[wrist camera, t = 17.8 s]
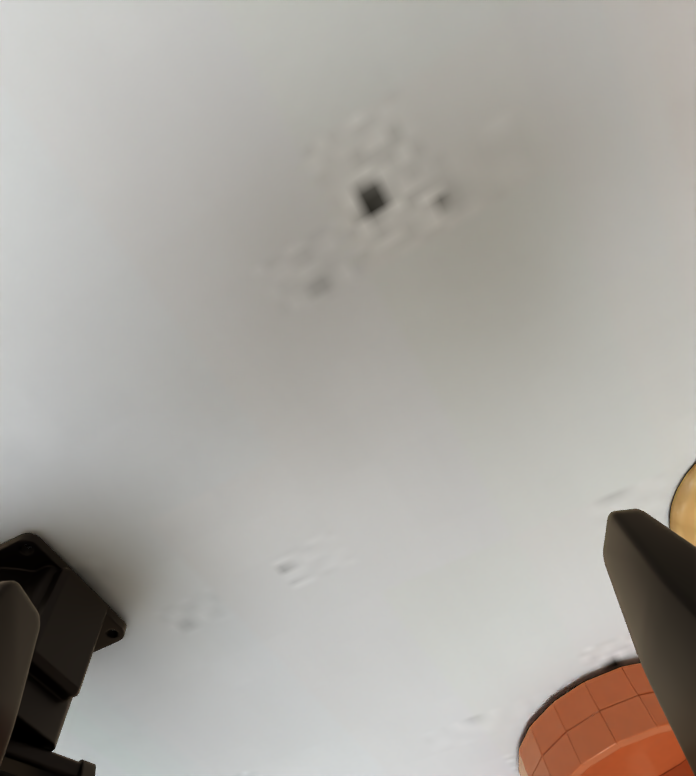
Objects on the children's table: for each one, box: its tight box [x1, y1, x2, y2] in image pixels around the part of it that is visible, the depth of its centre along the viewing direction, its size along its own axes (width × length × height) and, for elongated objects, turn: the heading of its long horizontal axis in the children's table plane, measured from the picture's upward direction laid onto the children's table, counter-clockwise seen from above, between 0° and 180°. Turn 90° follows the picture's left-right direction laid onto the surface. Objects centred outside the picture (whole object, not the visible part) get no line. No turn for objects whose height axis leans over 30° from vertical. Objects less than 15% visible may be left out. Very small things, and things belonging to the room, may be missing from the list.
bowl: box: [519, 663, 694, 776], centre depth 32 cm, size 13×13×4 cm
